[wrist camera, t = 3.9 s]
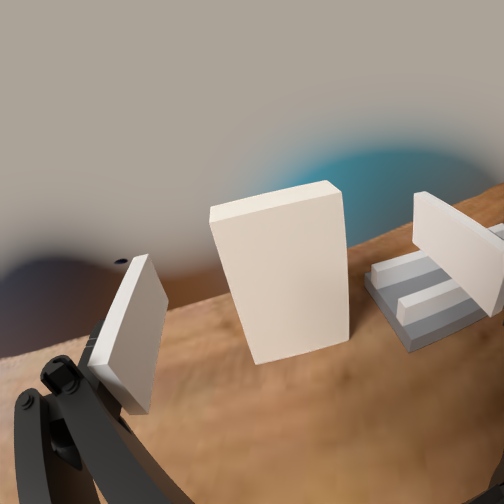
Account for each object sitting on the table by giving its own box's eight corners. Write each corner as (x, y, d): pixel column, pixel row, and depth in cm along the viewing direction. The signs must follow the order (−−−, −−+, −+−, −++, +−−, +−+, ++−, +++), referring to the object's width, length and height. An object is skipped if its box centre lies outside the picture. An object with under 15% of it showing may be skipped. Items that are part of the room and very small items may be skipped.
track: (489, 243, 35) (493, 217, 33) (538, 283, 24) (547, 255, 22) (364, 286, 35) (364, 256, 33) (408, 353, 25) (415, 321, 23)
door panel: (336, 314, 32) (323, 177, 25) (349, 340, 29) (341, 191, 21) (251, 336, 33) (210, 203, 25) (255, 364, 29) (209, 222, 21)
